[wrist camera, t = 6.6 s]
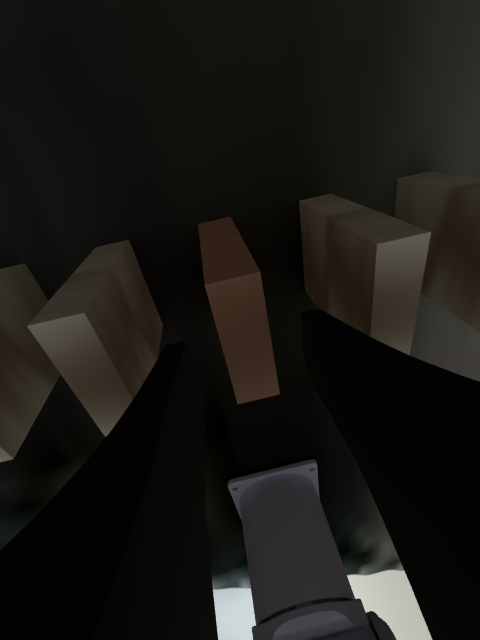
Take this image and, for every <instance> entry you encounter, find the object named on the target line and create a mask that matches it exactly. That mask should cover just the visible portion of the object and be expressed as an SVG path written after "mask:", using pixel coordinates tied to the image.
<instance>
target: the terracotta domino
mask: <svg viewBox="0 0 480 640" xmlns="http://www.w3.org/2000/svg"><path fill="white" fill-rule="evenodd" d="M198 228H199V237H200V246H201V256H202V265H203V274H204V283H205V288H206V292H207V295H208V299H209V302H210V306H211V309H212V313H213V317H214V320H215V324H216V327H217V331H218V335H219V338H220V342H221V345H222V349H223V353H224V356H225V360H226V363H227V367H228V370H229V374H230V378H231V381H232V385H233V388H234V392H235V396H236V399H237V403H238V404H241V403H245V402H249V401H253V400H257V399H261V398H266V397H270V396H274V395H278V394H280V393H279V387H278V380H277V374H276V368H275V361H274V355H273V349H272V342H271V336H270V330H269V323H268V317H267V311H266V304H265V298H264V292H263V285H262V279H261V273H260V270H259V268H258V267H257V265H256V263H255V261H254V259H253V257H252V255H251V254H250V252H249V250H248V248H247V246H246V244H245V243H244V241H243V239H242V237H241V235H240V233H239V231H238V230H237V228H236V226H235V224H234V222H233V220H232V218H231V217H226V218H222V219H218V220H213V221H209V222H204V223H200V224H198Z"/></svg>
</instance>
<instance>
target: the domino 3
mask: <svg viewBox="0 0 480 640" xmlns="http://www.w3.org/2000/svg"><path fill="white" fill-rule="evenodd" d="M299 210H300V224H301V238H302V253H303V267H304V281H305V292H306V293H307V294H308V295H309V297H310V298H311V299H312V301H313V302H314V303H315V305H316V306H317V307H318V308H319V309H321V310H323V311H325V312H327V313H328V314H330V315H332V316H334V317H335V318H337V319H339V320H341V321H343V322H344V323H346V324H348V325H350V326H352V327H353V328H355V329H357V330H359V331H361V332H363V333H364V334H366V335H368V336H370V337H372V338H374V339H376V340H378V341H380V342H382V343H384V344H386V345H388V346H390V347H393V348H395V349H397V350H399V351H401V352H403V353H406V354H408V355H410V350H411V344H412V338H413V333H414V327H415V321H416V315H417V310H418V304H419V298H420V293H421V287H422V281H423V275H424V270H425V264H426V258H427V253H428V247H429V241H430V235H431V231H428V230H425V229H423V228H420V227H417V226H415V225H412V224H410V223H407V222H404V221H402V220H399V219H396V218H394V217H391V216H388V215H386V214H383V213H381V212H378V211H375V210H373V209H370V208H367V207H365V206H362V205H359V204H357V203H354V202H352V201H349V200H346V199H344V198H341V197H338V196H336V195H333V194H327V195H322V196H318V197H314V198H309V199H305V200H301V201H299Z"/></svg>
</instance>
